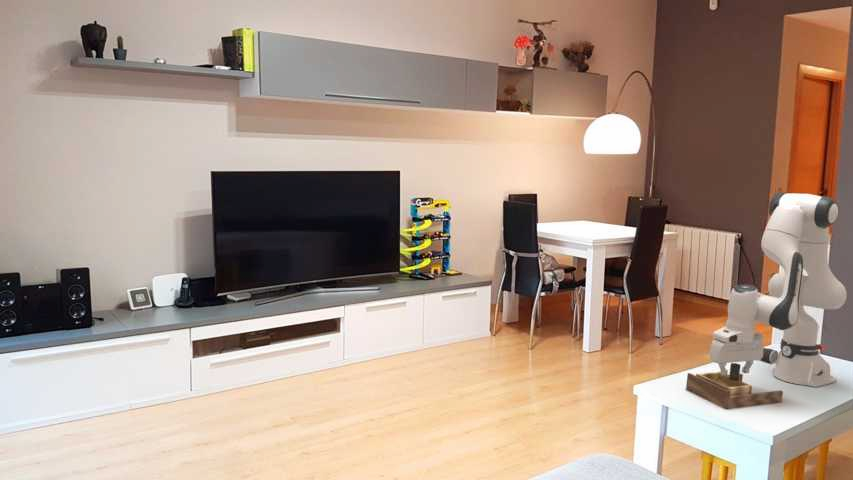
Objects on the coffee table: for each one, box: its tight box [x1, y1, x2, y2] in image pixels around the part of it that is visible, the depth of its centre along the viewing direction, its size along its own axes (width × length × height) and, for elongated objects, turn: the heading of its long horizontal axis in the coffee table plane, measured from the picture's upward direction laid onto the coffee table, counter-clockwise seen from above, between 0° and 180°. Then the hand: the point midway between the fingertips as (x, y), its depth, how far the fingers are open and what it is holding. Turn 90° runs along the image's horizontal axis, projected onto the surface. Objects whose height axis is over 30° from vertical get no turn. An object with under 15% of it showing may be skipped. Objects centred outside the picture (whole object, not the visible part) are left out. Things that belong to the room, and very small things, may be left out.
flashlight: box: [761, 347, 779, 364], centre depth 286 cm, size 15×5×5 cm, turn 33°
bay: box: [685, 372, 784, 410], centre depth 236 cm, size 24×18×7 cm
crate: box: [695, 362, 753, 396], centre depth 234 cm, size 11×14×11 cm
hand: (734, 373), depth 235 cm, fingers open, 8 cm apart
